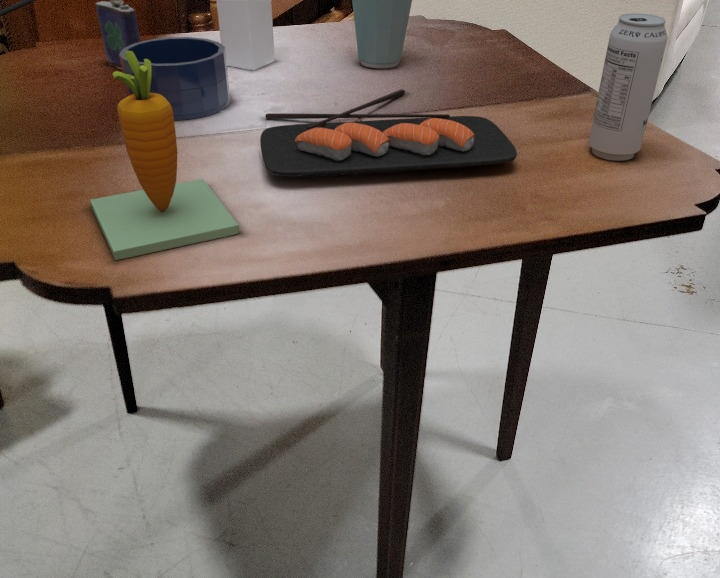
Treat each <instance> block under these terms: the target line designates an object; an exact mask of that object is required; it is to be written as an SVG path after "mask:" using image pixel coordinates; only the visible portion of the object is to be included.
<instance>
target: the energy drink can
mask: <svg viewBox="0 0 720 578" xmlns="http://www.w3.org/2000/svg"><path fill="white" fill-rule="evenodd" d="M666 22H667V20H666V18H664V17H662V16H659V15H656V14H649V13H634V12H633V13H624V14H621V15H619V16H618V21H617V23H616V24H615V26H614V27H613V28H612V30H611V31H610V32H609V36H608V37H609V38H608V42H607V46H606V47H607V48H606V53H605V58H604V62H603V68H602V72H601V78H600V82H599V88H598V93H597V97H596V98H597V99H596V102H595V108H594V112H593V118H592V122H591V123H592V124H591V128H590V133H589V138H588V145H589V146H590V147H591V153H592V154H593V155H594V156H596V157H598V158H600V159H603V160H608V161H615V162H619V161H621V162H622V161H628V160H631V159H633V158H634V156H635V154H637V153H638V152H639V151H641V149H642V145H643V140H644V136H645V131H646V129H647V124H648V120H649V117H650V112H651V108H652V104H653V100H654V96H655V92H656V87H657V83H658V79H659V75H660V71H661V67H662V63H663V59H664V56H665V51H666V47H667V42H668V39H669V38H668V34H667V30H666V26H665V25H666Z"/></svg>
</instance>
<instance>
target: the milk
mask: <svg viewBox="0 0 720 578" xmlns="http://www.w3.org/2000/svg"><path fill="white" fill-rule="evenodd" d="M215 3H216V9H217V10H216V11H217V20H218V29H219V39H220V43H221V44H222V45H223V46H224V47H225V51H226V61H227V67H232V68H238V69H243V70H249V71H256V70H258V69H260V68H262V67H265V66H267V65H270V64H273V63H274V62H275V61H276V58H275V57H276V56H275V40H274V25H273V23H274V22H273V10H272V9H273V8H272V0H215Z"/></svg>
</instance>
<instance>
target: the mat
mask: <svg viewBox="0 0 720 578" xmlns="http://www.w3.org/2000/svg"><path fill="white" fill-rule="evenodd" d="M89 203H90V208H91V209H92V212H93V214H94V217H95V218H96V221H97V224H98V225H99V227H100V230H101V232H102V234H103V236H104V239H105V241H106V243H107V245H108V247H109V250H110V252H111V254H112V256H113V259H114V261H119V260H124V259H128V258H133V257H137V256H142V255H147V254H152V253H156V252H161V251H167V250H170V249H176V248H179V247H184V246H189V245H195V244H197V243H203V242H207V241H213V240H217V239H220V238H225V237H229V236H230V237H231V236H235V235H239V234H240V224H239V223H238V222H237V221H236V219H235V218H234V217H233V216H232V215H231V213H230V211H229V210H228V209H227V208H226V207H225V205H224V204H223V202H222V201H221V200H220V199H219V197H218V196H217V195H216V194H215V192H214V191H213V190H212V188H211V187H210V186H209V184H208V183H207V182H206V181H205V179H204V178H198V179H194V180H188V181H183V182H182V181H181V182H176V184H175V188H174V193H173V196H172V199H171V201H170V204H169V207H168V208H167V209H166V210H165V211H164V212H161V211H159V210H158V209H157V208H156V207H155V206H154V204H153V203H152V202H151V201H150V199H149V198H148V196H147V195H146V193H145V191H144V190H143V189H140V190H139V189H138V190H135V191H129V192H124V193H118V194H113V195H108V196H102V197H97V198H91V199H89Z"/></svg>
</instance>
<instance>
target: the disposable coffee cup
mask: <svg viewBox="0 0 720 578" xmlns="http://www.w3.org/2000/svg"><path fill="white" fill-rule="evenodd" d="M351 3H352V12H353V20H354V29H355V38H356V46H357V55H358V60H359V63H360V65H362V66H363V67H366V68H371V69H391V68H395V67H397V66H399V65H400V61H401V60H402V57H403V56H402V55H403V51H404V45H405V40H406V35H407V29H408V24H409V19H410V13H411V8H412V3H413V0H351Z"/></svg>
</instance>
